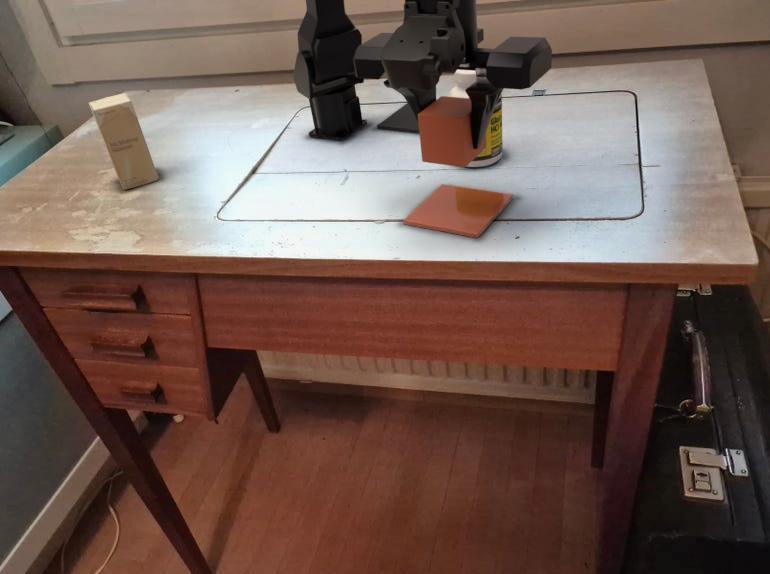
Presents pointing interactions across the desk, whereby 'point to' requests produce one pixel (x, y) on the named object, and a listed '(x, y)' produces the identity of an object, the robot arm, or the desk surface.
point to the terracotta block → (448, 132)
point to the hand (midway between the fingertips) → (453, 145)
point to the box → (124, 140)
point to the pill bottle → (495, 125)
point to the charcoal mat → (401, 121)
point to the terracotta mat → (459, 210)
